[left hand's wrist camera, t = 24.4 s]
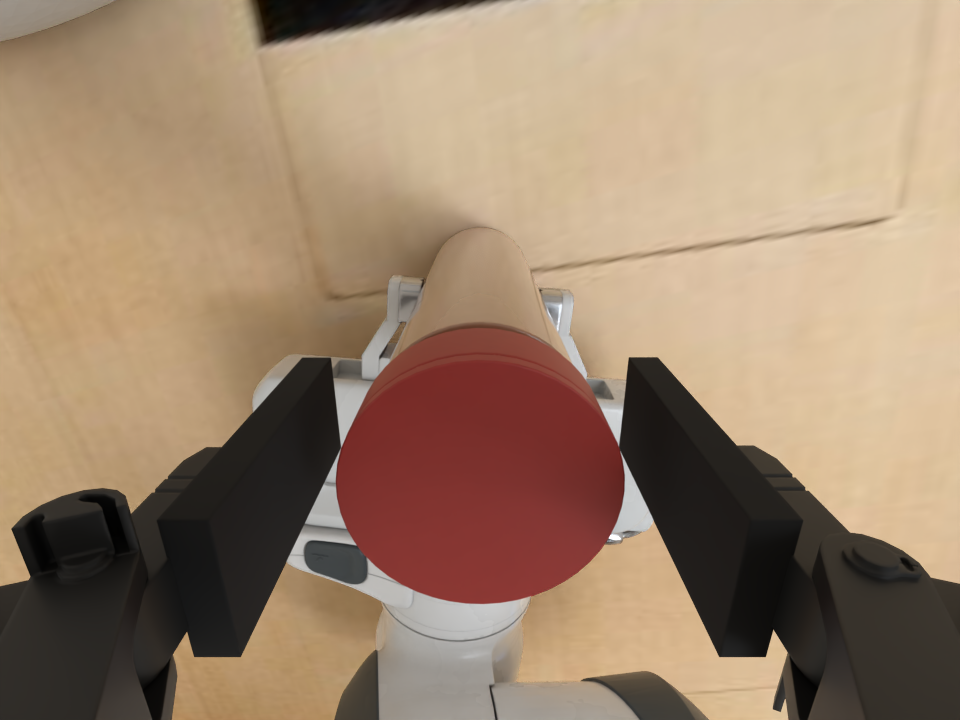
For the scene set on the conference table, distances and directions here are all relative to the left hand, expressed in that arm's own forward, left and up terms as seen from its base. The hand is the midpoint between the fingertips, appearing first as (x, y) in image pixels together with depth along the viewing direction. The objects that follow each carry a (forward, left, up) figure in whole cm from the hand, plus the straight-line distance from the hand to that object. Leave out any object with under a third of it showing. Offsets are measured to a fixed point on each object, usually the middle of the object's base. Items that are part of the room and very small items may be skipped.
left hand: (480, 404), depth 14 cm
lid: (0, 0, +4) cm, 4 cm away
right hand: (-1, 0, -10) cm, 10 cm away
